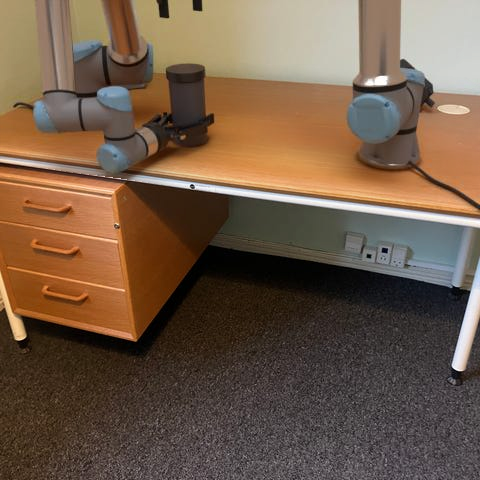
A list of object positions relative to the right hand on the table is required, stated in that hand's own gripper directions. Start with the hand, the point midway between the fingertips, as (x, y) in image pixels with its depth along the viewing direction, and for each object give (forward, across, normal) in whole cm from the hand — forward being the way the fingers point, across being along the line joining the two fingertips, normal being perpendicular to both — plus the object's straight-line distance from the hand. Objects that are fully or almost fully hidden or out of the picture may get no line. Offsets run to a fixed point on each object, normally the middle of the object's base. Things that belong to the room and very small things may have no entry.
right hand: (181, 14), depth 135 cm
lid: (+14, 0, 0) cm, 14 cm away
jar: (+34, 0, 0) cm, 34 cm away
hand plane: (+34, -19, -61) cm, 72 cm away
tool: (+34, -62, +37) cm, 80 cm away
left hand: (+28, -4, 0) cm, 28 cm away
